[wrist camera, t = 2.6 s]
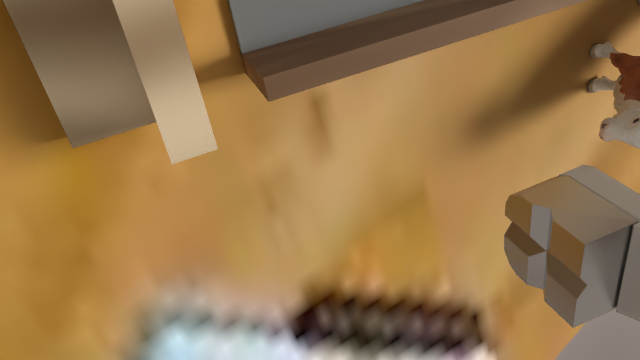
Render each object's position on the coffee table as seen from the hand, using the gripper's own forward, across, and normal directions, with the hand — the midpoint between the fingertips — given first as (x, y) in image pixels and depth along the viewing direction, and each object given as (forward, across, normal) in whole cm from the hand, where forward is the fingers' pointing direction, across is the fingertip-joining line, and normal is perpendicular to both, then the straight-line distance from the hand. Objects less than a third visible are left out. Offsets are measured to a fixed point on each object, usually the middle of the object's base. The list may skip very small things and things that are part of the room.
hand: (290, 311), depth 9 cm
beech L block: (+21, -2, 0) cm, 21 cm away
